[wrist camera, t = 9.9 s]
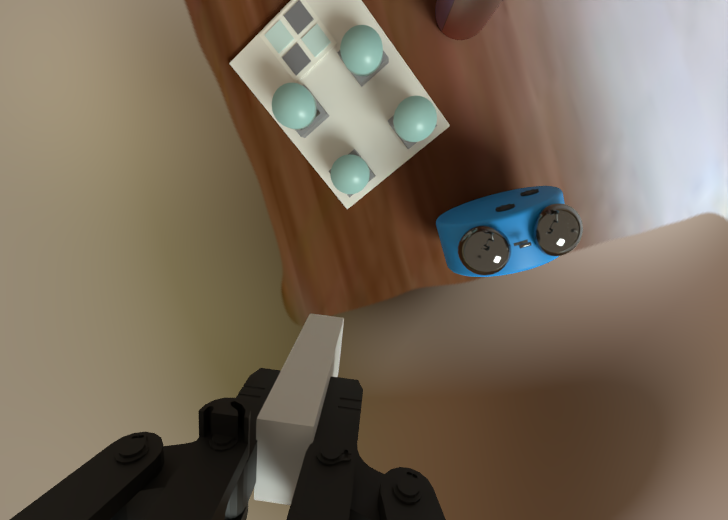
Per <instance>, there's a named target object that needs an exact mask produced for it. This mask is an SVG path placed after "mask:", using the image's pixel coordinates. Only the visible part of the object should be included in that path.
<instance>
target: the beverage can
mask: <svg viewBox="0 0 728 520" xmlns="http://www.w3.org/2000/svg"><path fill="white" fill-rule="evenodd" d="M502 1H503V0H437V2H436V7H435V16H436V21H437V24H438V26H439V28H440V30H441V31H442V32H443V33H444V34H445V35H446V36H448V37H450V38H452V39H455V40H465V39H469V38H471V37H473V36H475V35H476V34H477V33H479V32H480V31H481V30H482V28H483V27H484V26H485V24H486V23H487V21H488V20H489V19H490V17H491V16H492V14H493V13H494V12H495V10H496V9H497V8H498V6H499V5H500V3H501V2H502Z"/></svg>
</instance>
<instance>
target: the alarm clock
mask: <svg viewBox="0 0 728 520" xmlns="http://www.w3.org/2000/svg"><path fill="white" fill-rule="evenodd" d="M436 226H437V230H438V234H439V237H440V241H441V245H442V248H443V252H444V256H445V259H446V263H447V266H448V268H449V269H450V270H452V271H453V272H455V273H457V274H460V275H465V276H472V277H489V276H500V275H507V274H512V273H517V272H521V271H525V270H529V269H532V268H535V267H538V266H541V265H543V264H546V263H548V262H550V261H552V260H554V259H556V258H557V257H559V256H562V255H565V254H567V253H569V252H570V251H572V250H573V249H574V248H575V247H576V246H577V245H578V243H579V242H580V240H581V237H582V233H583V224H582V220H581V218H580V216H579V214H578V213H577V211H575V210H574V209H573V208H572V207H570V206H568V205H566V204H565V203H564V198H563V193H562V191H561V190H560V189H559V188H557V187H553V186H536V187H527V188H521V189H515V190H510V191H505V192H501V193H497V194H493V195H489V196H485V197H482V198H479V199H476V200H473V201H470V202H467V203H464V204H462V205H459V206H457V207H454V208H452V209H450V210H448V211H446V212H445V213H443V214H442V215H440V216H439V217H438V219H437V220H436Z"/></svg>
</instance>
